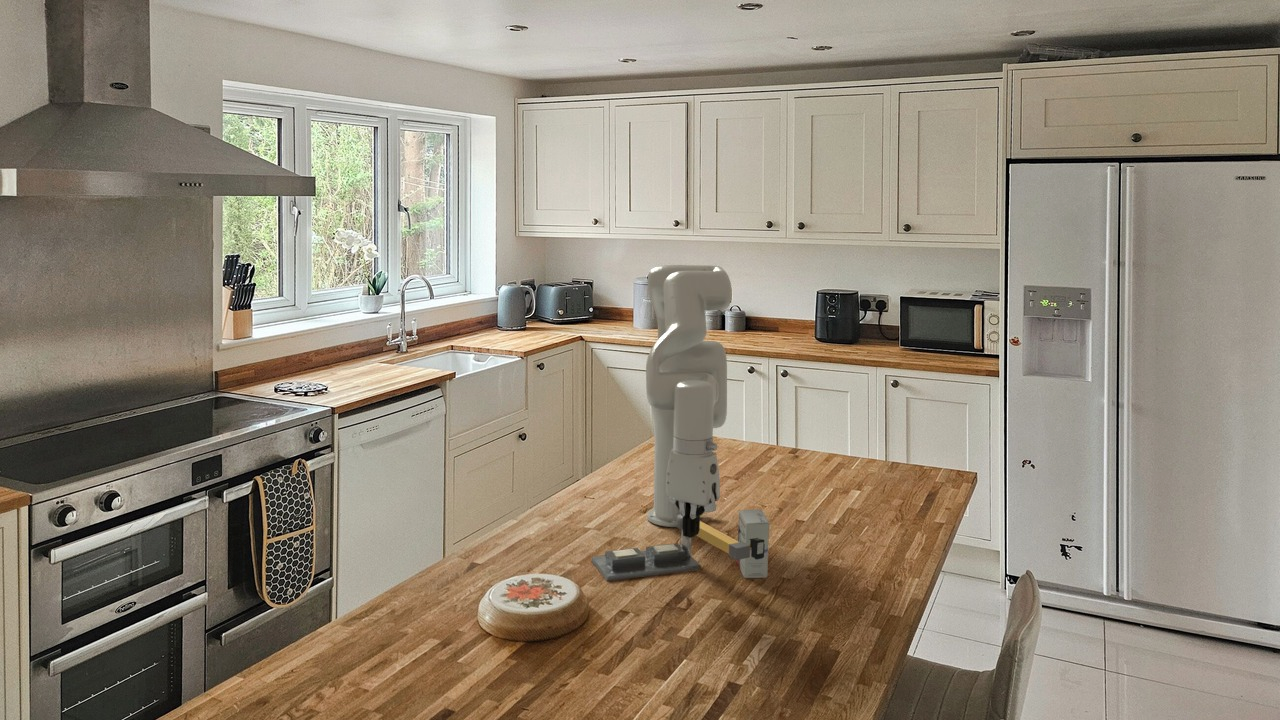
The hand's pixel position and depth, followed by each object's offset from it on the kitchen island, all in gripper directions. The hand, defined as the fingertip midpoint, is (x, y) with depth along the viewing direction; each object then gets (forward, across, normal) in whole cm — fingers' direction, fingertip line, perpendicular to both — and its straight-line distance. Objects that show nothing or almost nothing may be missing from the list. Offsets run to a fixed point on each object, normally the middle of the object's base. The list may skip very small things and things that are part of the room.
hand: (690, 535), depth 190 cm
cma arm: (+3, -1, -6) cm, 7 cm away
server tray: (+10, +13, -2) cm, 16 cm away
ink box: (+10, -6, -14) cm, 18 cm away
